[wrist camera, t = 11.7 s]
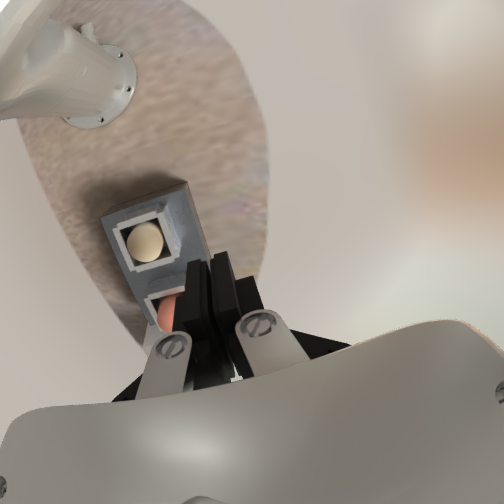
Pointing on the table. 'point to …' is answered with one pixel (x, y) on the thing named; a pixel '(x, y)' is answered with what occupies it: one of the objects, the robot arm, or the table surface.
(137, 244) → the beige ball
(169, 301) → the red plunger
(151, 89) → the table surface
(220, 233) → the table surface
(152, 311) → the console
